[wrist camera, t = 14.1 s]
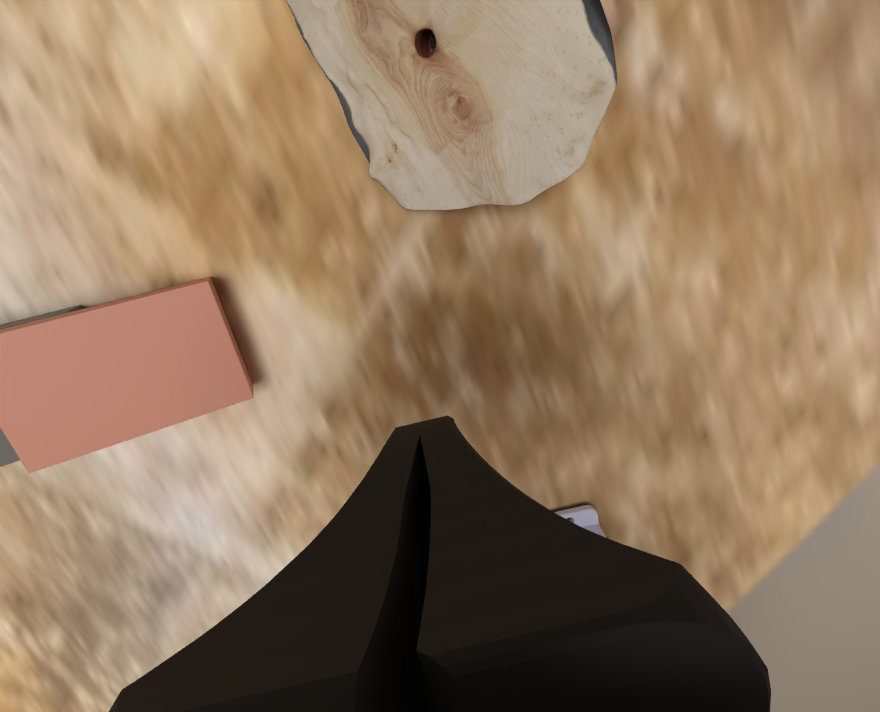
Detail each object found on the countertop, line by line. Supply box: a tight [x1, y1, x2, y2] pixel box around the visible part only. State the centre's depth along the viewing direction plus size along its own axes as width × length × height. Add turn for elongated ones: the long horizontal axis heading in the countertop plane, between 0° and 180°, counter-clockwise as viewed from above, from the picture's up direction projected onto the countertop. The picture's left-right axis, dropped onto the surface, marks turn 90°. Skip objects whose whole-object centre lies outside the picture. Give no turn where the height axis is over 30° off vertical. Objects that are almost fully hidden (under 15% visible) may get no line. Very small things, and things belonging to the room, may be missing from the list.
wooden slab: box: [286, 0, 617, 210], centre depth 15 cm, size 11×4×12 cm
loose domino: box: [0, 277, 254, 473], centre depth 18 cm, size 2×5×8 cm
